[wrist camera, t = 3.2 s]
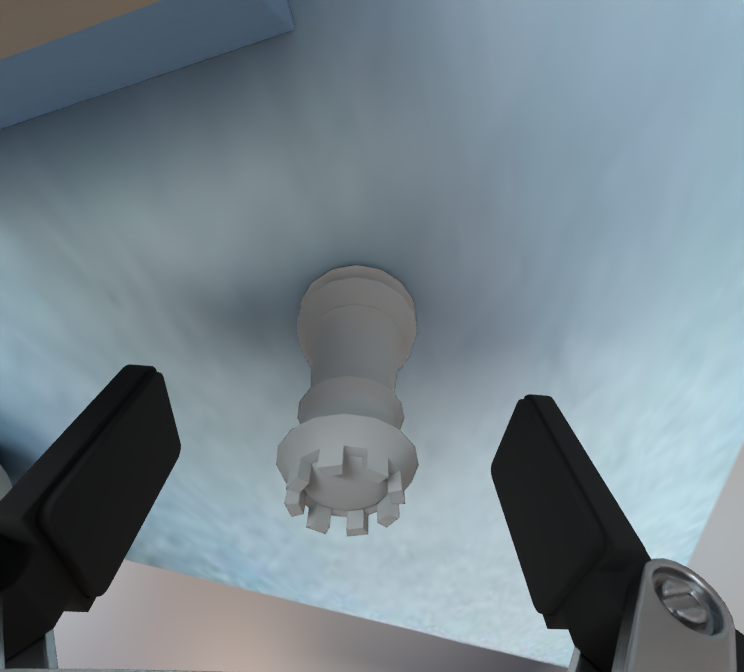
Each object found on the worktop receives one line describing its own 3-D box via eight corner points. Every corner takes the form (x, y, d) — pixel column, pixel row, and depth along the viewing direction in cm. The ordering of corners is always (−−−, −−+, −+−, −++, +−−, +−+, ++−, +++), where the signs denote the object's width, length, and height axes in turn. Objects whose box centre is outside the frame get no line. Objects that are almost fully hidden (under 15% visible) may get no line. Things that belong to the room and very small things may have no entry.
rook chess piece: (359, 376, 16) (349, 576, 9) (277, 313, 14) (193, 503, 8) (438, 314, 14) (496, 504, 8) (356, 233, 13) (336, 388, 6)
